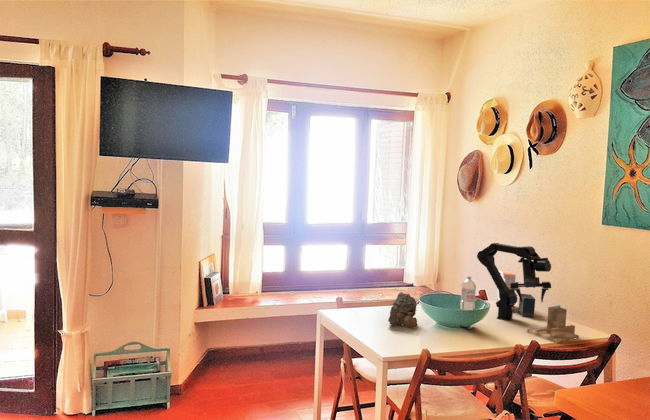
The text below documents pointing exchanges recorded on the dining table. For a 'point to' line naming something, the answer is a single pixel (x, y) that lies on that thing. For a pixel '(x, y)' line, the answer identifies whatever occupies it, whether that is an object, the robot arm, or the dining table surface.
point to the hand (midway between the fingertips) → (531, 302)
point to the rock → (403, 311)
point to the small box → (527, 305)
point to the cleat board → (555, 333)
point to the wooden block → (556, 317)
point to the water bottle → (468, 295)
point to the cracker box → (506, 280)
